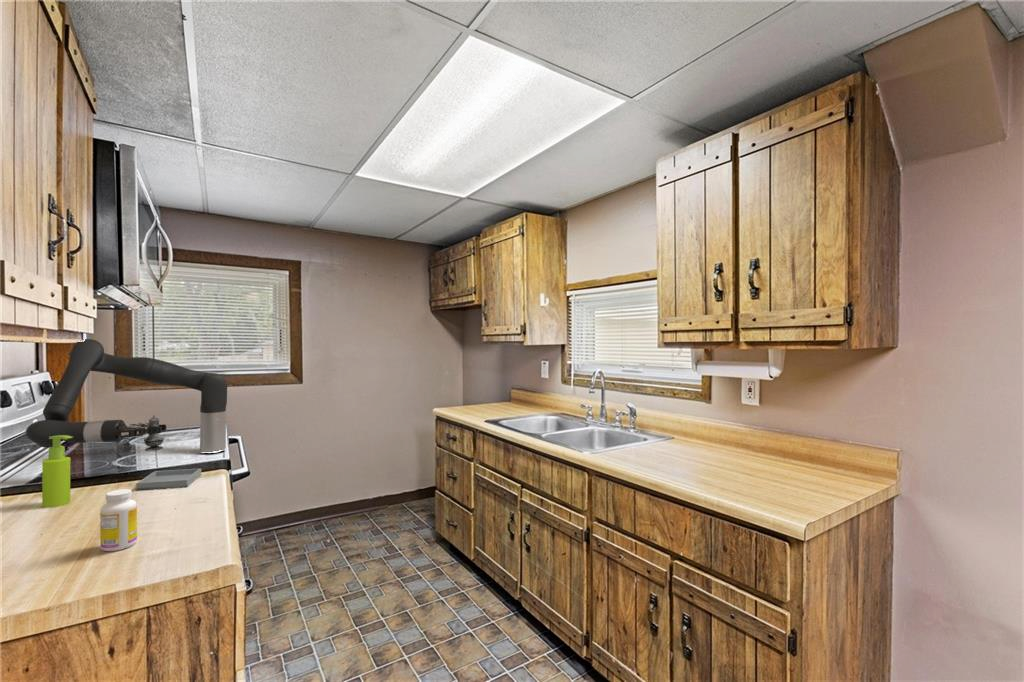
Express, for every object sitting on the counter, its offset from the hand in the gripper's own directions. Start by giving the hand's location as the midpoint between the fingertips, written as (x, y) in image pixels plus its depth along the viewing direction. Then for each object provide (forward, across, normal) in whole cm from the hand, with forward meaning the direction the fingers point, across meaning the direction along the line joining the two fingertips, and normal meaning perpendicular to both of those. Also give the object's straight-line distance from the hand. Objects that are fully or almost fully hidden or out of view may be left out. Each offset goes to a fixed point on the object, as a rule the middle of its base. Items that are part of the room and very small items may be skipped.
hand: (163, 428), depth 168 cm
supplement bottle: (+13, -63, +16) cm, 66 cm away
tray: (+6, -11, +16) cm, 21 cm away
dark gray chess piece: (-3, 0, +7) cm, 8 cm away
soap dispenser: (-17, -26, +16) cm, 35 cm away
